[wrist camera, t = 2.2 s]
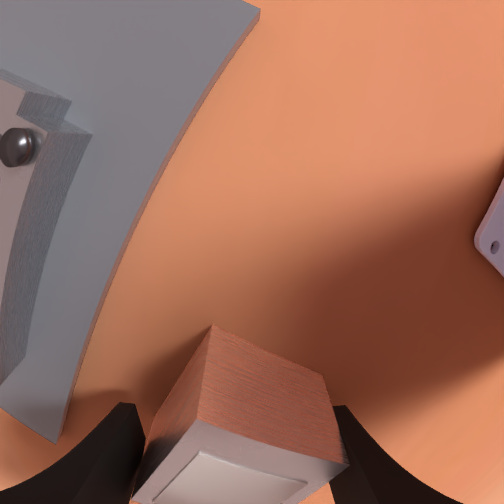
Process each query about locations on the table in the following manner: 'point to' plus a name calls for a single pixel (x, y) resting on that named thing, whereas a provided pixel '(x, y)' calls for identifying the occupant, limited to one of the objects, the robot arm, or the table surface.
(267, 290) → the table surface
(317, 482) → the small brown box
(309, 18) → the table surface
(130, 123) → the tray
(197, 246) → the table surface
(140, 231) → the table surface
